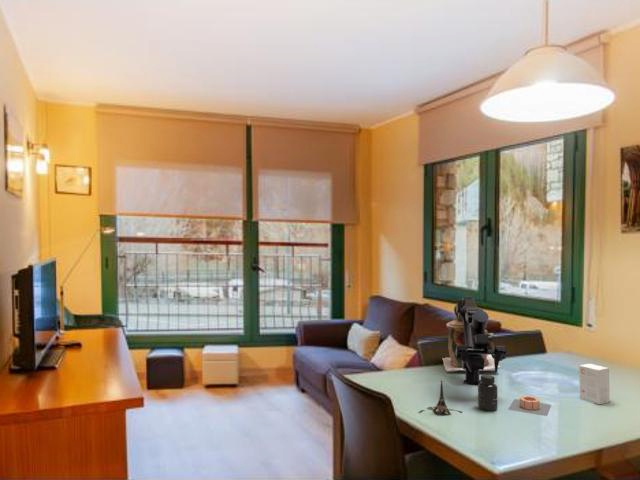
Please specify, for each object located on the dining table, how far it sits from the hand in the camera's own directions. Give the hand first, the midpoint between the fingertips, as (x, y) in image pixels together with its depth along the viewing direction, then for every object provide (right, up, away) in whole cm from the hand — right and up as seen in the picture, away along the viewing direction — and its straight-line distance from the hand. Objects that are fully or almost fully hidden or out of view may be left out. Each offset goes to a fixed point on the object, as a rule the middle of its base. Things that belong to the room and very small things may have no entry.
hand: (483, 371), depth 182 cm
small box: (+43, -12, +2) cm, 45 cm away
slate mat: (+15, -12, -6) cm, 20 cm away
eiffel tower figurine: (-18, -13, -9) cm, 24 cm away
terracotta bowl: (+15, -11, -6) cm, 20 cm away
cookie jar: (+10, -11, +50) cm, 52 cm away
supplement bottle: (-1, -12, -6) cm, 14 cm away
